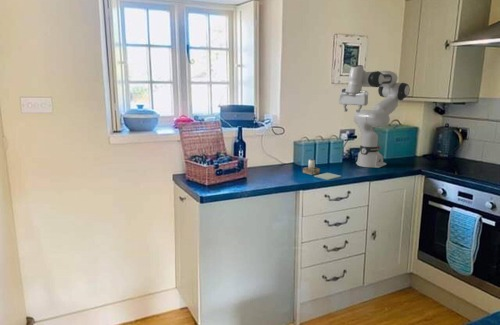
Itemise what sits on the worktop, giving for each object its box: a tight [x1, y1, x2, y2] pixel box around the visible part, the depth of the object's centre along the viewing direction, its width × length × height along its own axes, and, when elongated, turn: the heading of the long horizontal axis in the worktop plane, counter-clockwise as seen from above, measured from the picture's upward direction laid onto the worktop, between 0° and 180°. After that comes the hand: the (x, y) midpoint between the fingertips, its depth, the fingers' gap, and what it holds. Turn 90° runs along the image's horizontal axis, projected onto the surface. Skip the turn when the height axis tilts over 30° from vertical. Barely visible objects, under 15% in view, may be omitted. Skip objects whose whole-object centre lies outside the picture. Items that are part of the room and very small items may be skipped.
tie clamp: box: [302, 166, 321, 176], centre depth 240 cm, size 8×9×3 cm
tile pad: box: [313, 172, 342, 181], centre depth 230 cm, size 13×11×1 cm
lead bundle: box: [307, 158, 316, 170], centre depth 239 cm, size 4×4×9 cm
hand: (351, 112), depth 242 cm, fingers open, 8 cm apart
